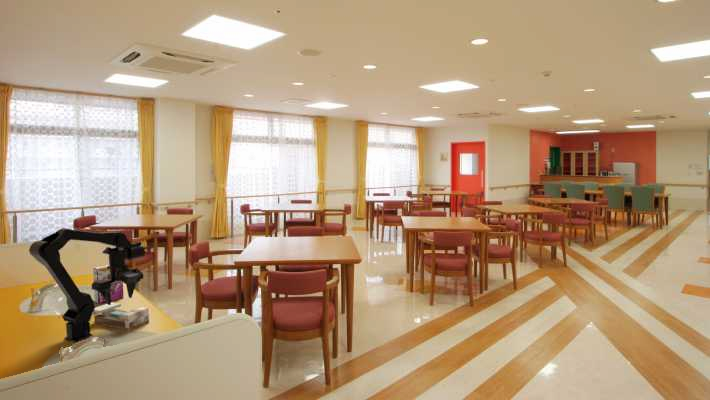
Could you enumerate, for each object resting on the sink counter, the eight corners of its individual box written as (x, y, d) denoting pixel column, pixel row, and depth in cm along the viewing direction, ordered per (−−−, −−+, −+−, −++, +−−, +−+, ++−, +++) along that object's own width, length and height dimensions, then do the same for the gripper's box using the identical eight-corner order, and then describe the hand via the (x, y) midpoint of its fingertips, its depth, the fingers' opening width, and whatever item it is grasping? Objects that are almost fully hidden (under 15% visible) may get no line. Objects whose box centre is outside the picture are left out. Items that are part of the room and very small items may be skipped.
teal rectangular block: (110, 320, 169) (110, 313, 168) (117, 317, 171) (116, 310, 171) (124, 323, 165) (123, 315, 165) (130, 320, 168) (130, 313, 168)
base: (129, 330, 160) (128, 315, 160) (94, 323, 168) (93, 308, 168) (149, 322, 168) (148, 308, 168) (115, 315, 176) (114, 301, 176)
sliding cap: (100, 321, 166) (100, 310, 166) (91, 319, 169) (90, 309, 168) (121, 314, 175) (120, 303, 174) (112, 312, 177) (111, 302, 176)
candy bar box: (98, 304, 192) (96, 269, 190) (94, 302, 195) (92, 267, 193) (124, 298, 200) (122, 264, 199) (120, 296, 203) (118, 262, 202)
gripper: (109, 270, 155) (112, 311, 156) (151, 259, 172) (154, 296, 173) (89, 267, 159) (92, 307, 161) (132, 257, 176) (135, 293, 178)
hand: (120, 301), depth 168 cm, fingers open, 9 cm apart
